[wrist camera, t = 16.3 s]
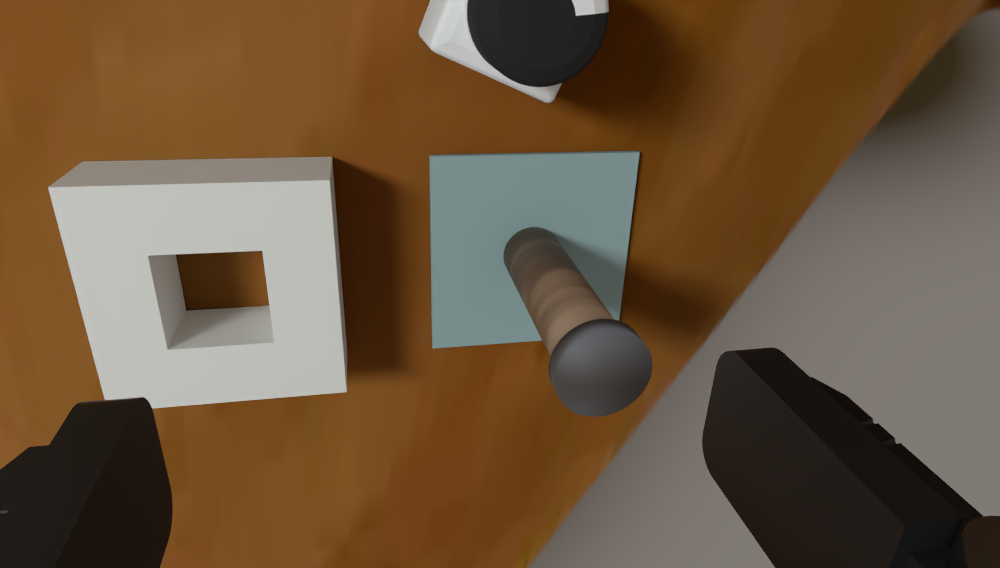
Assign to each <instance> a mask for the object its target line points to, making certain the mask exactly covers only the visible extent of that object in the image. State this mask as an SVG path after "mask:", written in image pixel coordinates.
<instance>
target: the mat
mask: <svg viewBox="0 0 1000 568" xmlns="http://www.w3.org/2000/svg"><path fill="white" fill-rule="evenodd" d="M639 154H640V152H638V151H605V152H553V153H501V154H449V155H429V162H430V233H431V303H432V348H445V347H459V346H472V345H486V344H499V343H513V342H527V341H540V340H542V339H541V337H540V335H539V333H538V331H537V329H536V327H535V325H534V323H533V321H532V319H531V317H530V315H529V313H528V311H527V309H526V307H525V305H524V303H523V301H522V299H521V297H520V295H519V293H518V291H517V289H516V287H515V285H514V282H513V280H512V278H511V276H510V274H509V272H508V270H507V268H506V266H505V264H504V259H503V254H504V249H505V246H506V244H507V242H508V241H509V239H510V238H511V237H512V236H513V235H514V234H515V233H517V232H518V231H520V230H522V229H525V228H529V227H539V228H543V229H546V230H548V231H549V232H551V233H552V234H553V235H554V236H555V238H556V239H557V240H558V242H559V243H560V244H561V246H562V247H563V249H564V250H565V251H566V253H567V254H568V256H569V257H570V258H571V260H572V261H573V262H574V264H575V265H576V267H577V268H578V269H579V271H580V272H581V274H582V275H583V276H584V278H585V279H586V281H587V282H588V283H589V285H590V286H591V287H592V289H593V290H594V292H595V293H596V294H597V296H598V297H599V299H600V300H601V301H602V303H603V304H604V305H605V307H606V308H607V310H608V311H609V312H610V314H611V315H612V317H613V318H614V319H615V320H618V321H619V317H620V309H621V301H622V293H623V285H624V277H625V268H626V260H627V252H628V244H629V236H630V227H631V219H632V211H633V203H634V195H635V187H636V178H637V170H638V162H639Z"/></svg>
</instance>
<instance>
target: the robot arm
mask: <svg viewBox="0 0 1000 568" xmlns="http://www.w3.org/2000/svg"><path fill="white" fill-rule="evenodd" d="M702 444H703V453H704V458H705V462H706V465H707V468H708V470H709V472H710V474H711V476H712V477H713V479H714V480H715V482H716V483H717V485H718V486H719V487H720V489H721V490H722V492H723V493H724V495H725V496H726V497H727V499H728V500H729V502H730V503H731V505H732V506H733V508H734V509H735V510H736V512H737V513H738V515H739V516H740V518H741V519H742V521H743V522H744V523H745V525H746V526H747V528H748V529H749V531H750V532H751V533H752V535H753V536H754V538H755V539H756V541H757V542H758V544H759V545H760V546H761V548H762V549H763V551H764V552H765V553H766V555H767V556H768V558H769V559H770V561H771V562H772V564H773V565H774V566H775V568H1000V516H985V517H983V516H982V515H981V514H980V513H979V512H978V511H977V510H976V509H975V508H973V507H972V506H971V505H970V504H969V503H968V502H966V501H965V500H964V499H963V498H962V497H961V496H960V495H959V494H957V493H956V492H955V491H954V490H953V489H952V488H951V487H950V486H948V485H947V484H946V483H945V482H944V481H943V480H942V479H941V478H939V477H938V476H937V475H936V474H934V472H933V471H931V470H930V469H929V468H928V467H927V466H926V465H925V464H923V463H922V462H921V461H920V460H919V459H918V458H917V457H916V456H914V455H913V454H912V453H911V452H910V451H909V450H908V449H906V448H905V447H904V446H903V445H902V444H901V443H900V444H896V443H895V438H894V437H893V436H892V435H891V434H889V433H888V432H887V431H886V430H885V429H884V428H883V427H881V426H880V425H879V424H874V423H873V419H872V418H871V417H870V416H869V415H868V414H867V413H866V412H864V411H863V410H862V409H861V408H860V407H859V406H858V405H856V404H855V403H854V402H853V401H852V400H851V399H850V398H848V397H847V396H846V395H844V394H842V393H840V392H838V391H837V390H835V389H833V388H831V387H829V386H827V385H825V384H824V383H822V382H820V381H818V380H816V379H814V378H813V377H809V376H808V375H807V374H806V373H805V372H804V371H803V370H801V369H800V368H799V367H798V366H797V365H796V364H795V363H794V362H793V361H792V360H790V359H789V358H788V357H787V356H786V355H785V354H784V353H783V352H781V351H780V350H778V349H776V348H762V349H749V350H737V351H727V352H725V353H723V354H722V355H721V356H720V358H719V360H718V363H717V366H716V371H715V376H714V381H713V386H712V391H711V396H710V401H709V406H708V411H707V416H706V421H705V426H704V431H703V440H702ZM171 524H172V493H171V487H170V483H169V479H168V474H167V470H166V466H165V461H164V457H163V453H162V448H161V444H160V440H159V436H158V431H157V427H156V423H155V418H154V414H153V410H152V407H151V405H150V403H149V401H148V400H147V399H146V398H144V397H139V398H127V399H114V400H102V401H89V402H80V403H77V404H76V405H75V406H74V407H73V408H72V410H71V411H70V413H69V414H68V416H67V418H66V419H65V421H64V422H63V424H62V426H61V427H60V429H59V430H58V432H57V434H56V435H55V437H54V438H53V440H52V442H51V443H50V445H47V446H36V447H29V448H28V449H26V450H25V451H24V452H22V453H21V454H20V455H19V456H17V457H16V458H15V459H13V460H12V461H11V462H10V463H8V464H7V465H6V466H5V467H3V468H2V469H1V470H0V568H160V565H161V562H162V559H163V555H164V552H165V549H166V546H167V543H168V540H169V536H170V531H171Z"/></svg>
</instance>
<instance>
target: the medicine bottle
mask: <svg viewBox="0 0 1000 568" xmlns="http://www.w3.org/2000/svg"><path fill="white" fill-rule="evenodd" d="M608 15H609V6H608V0H430V2H429V5H428V8H427V10H426V13H425V16H424V18H423V21H422V23H421V26H420V29H419V36H420V37H421V39H422V40H423V41H424V42H425V43H426V44H427V45H428V47H429V48H430V49H431V50H432V51H434V52H435V53H437V54H439V55H442V56H444V57H446V58H448V59H451V60H453V61H455V62H457V63H459V64H462V65H464V66H466V67H468V68H470V69H473V70H475V71H477V72H479V73H481V74H484V75H486V76H488V77H490V78H492V79H495V80H497V81H499V82H501V83H503V84H506V85H508V86H510V87H512V88H514V89H517V90H519V91H521V92H523V93H525V94H528V95H530V96H532V97H534V98H536V99H539V100H541V101H543V102H545V103H550V102H552V101H553V100H554V99H555V97H556V95H557V92H558V90H559V88H560V86H561V84H562V83H563V82H565V81H567V80H569V79H571V78H573V77H574V76H576V75H577V74H578V73H580V72H581V71H582V70H583V69H584V68H585V67H586V66H587V65H588V64H589V63H590V62H591V60H592V59H593V58H594V56H595V55H596V53H597V52H598V50H599V48H600V46H601V44H602V42H603V39H604V36H605V33H606V29H607V24H608Z"/></svg>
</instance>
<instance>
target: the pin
mask: <svg viewBox="0 0 1000 568" xmlns="http://www.w3.org/2000/svg"><path fill="white" fill-rule="evenodd" d="M503 259H504V264H505V266H506V268H507V270H508V272H509V274H510V276H511V278H512V280H513V282H514V285H515V287H516V289H517V291H518V293H519V295H520V297H521V299H522V301H523V303H524V305H525V307H526V309H527V311H528V313H529V315H530V317H531V319H532V321H533V323H534V325H535V327H536V329H537V331H538V333H539V335H540V337H541V339H542V341H543V343H544V345H545V347H546V349H547V352H548V354H549V356H550V361H549V375H550V379H551V382H552V384H553V386H554V388H555V390H556V393H557V395H558V397H559V399H560V400H561V402H562V403H563V404H564V405H565V406H566V407H567V408H568V409H570V410H571V411H573V412H575V413H577V414H580V415H585V416H604V415H609V414H612V413H615V412H617V411H620V410H622V409H624V408H625V407H627V406H628V405H630V404H631V403H632V402H634V401H635V400H636V399H637V398H638V397H639V396H640V394H641V393H642V392H643V391H644V389H645V388H646V386H647V384H648V382H649V379H650V377H651V372H652V358H651V354H650V352H649V349H648V348H647V346H646V345H645V343H644V342H643V341H642V339H641V338H640V337H639V335H638V334H637V333H636V332H635V331H634V329H632V328H631V327H630V326H629V325H627V324H625V323H623V322H621V321H618V320H615V319H614V318H613V317H612V315H611V314H610V312H609V311H608V310H607V308H606V307H605V305H604V304H603V303H602V301H601V300H600V299H599V297H598V296H597V294H596V293H595V292H594V290H593V289H592V287H591V286H590V285H589V283H588V282H587V281H586V279H585V278H584V276H583V275H582V274H581V272H580V271H579V269H578V268H577V267H576V265H575V264H574V262H573V261H572V260H571V258H570V257H569V256H568V254H567V253H566V251H565V250H564V249H563V247H562V246H561V244H560V243H559V242H558V240H557V239H556V238H555V236H554V235H553V234H552V233H551V232H549V231H548V230H546V229H543V228H539V227H529V228H525V229H522V230H520V231H518V232H517V233H515V234H514V235H513V236H512V237H511V238H510V239H509V241H508V242H507V244H506V246H505V249H504V254H503Z"/></svg>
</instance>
